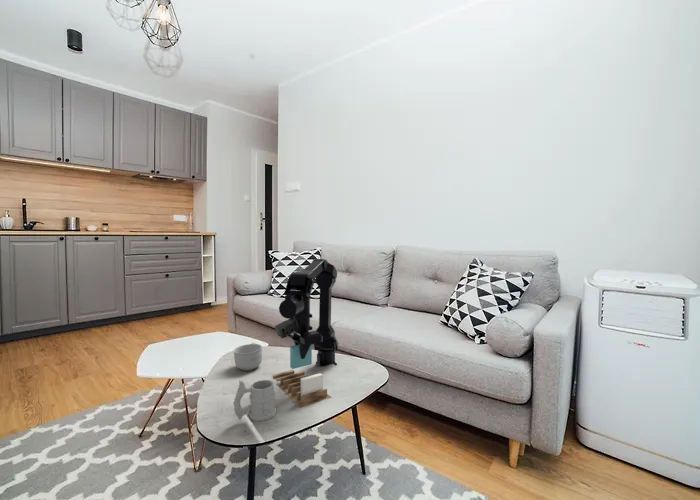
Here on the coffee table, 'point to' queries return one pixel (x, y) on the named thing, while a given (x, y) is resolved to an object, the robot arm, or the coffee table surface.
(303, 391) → the cream plate
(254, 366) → the teacup
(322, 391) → the rack
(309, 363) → the teal rectangular prism
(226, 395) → the coffee table surface
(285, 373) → the wooden slats
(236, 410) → the mug
